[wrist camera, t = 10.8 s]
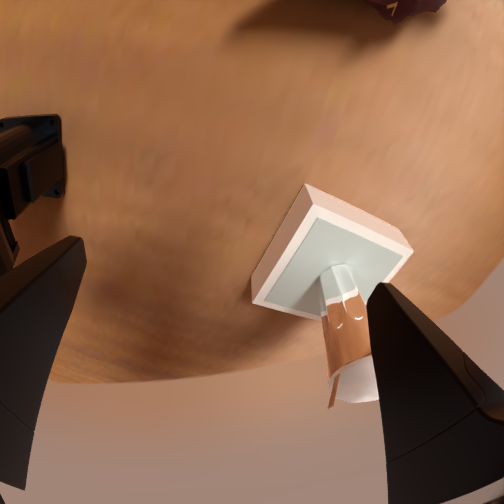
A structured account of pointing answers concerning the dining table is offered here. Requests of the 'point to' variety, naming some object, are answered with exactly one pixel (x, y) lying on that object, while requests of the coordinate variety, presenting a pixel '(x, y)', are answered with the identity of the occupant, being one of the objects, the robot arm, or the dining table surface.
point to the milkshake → (346, 335)
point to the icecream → (404, 8)
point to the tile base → (324, 252)
